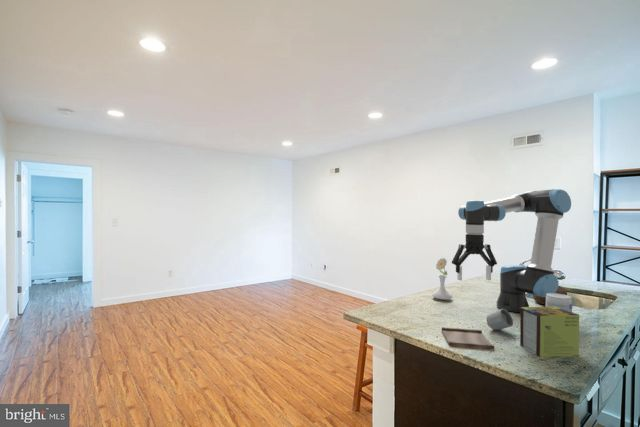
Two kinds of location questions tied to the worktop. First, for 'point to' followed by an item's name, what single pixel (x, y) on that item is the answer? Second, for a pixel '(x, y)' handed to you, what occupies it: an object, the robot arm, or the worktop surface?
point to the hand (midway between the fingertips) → (474, 279)
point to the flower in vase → (442, 282)
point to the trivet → (466, 338)
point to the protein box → (549, 331)
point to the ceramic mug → (499, 320)
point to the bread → (543, 299)
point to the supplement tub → (559, 301)
